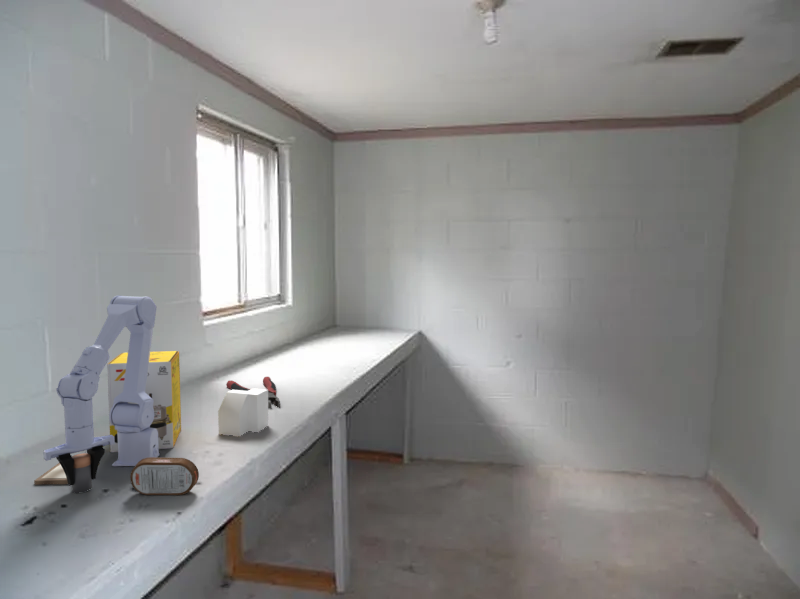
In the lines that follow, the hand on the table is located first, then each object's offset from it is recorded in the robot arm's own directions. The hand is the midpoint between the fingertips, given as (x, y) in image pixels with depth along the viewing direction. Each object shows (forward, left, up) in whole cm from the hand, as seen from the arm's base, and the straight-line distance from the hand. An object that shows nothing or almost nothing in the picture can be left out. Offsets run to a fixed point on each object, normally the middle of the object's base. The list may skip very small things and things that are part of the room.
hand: (81, 481), depth 130 cm
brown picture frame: (+8, -9, -2) cm, 12 cm away
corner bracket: (-29, -41, -2) cm, 50 cm away
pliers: (-25, -81, -3) cm, 85 cm away
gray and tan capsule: (0, 0, -2) cm, 2 cm away
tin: (-20, +3, -2) cm, 20 cm away
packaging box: (-3, -33, -2) cm, 33 cm away
